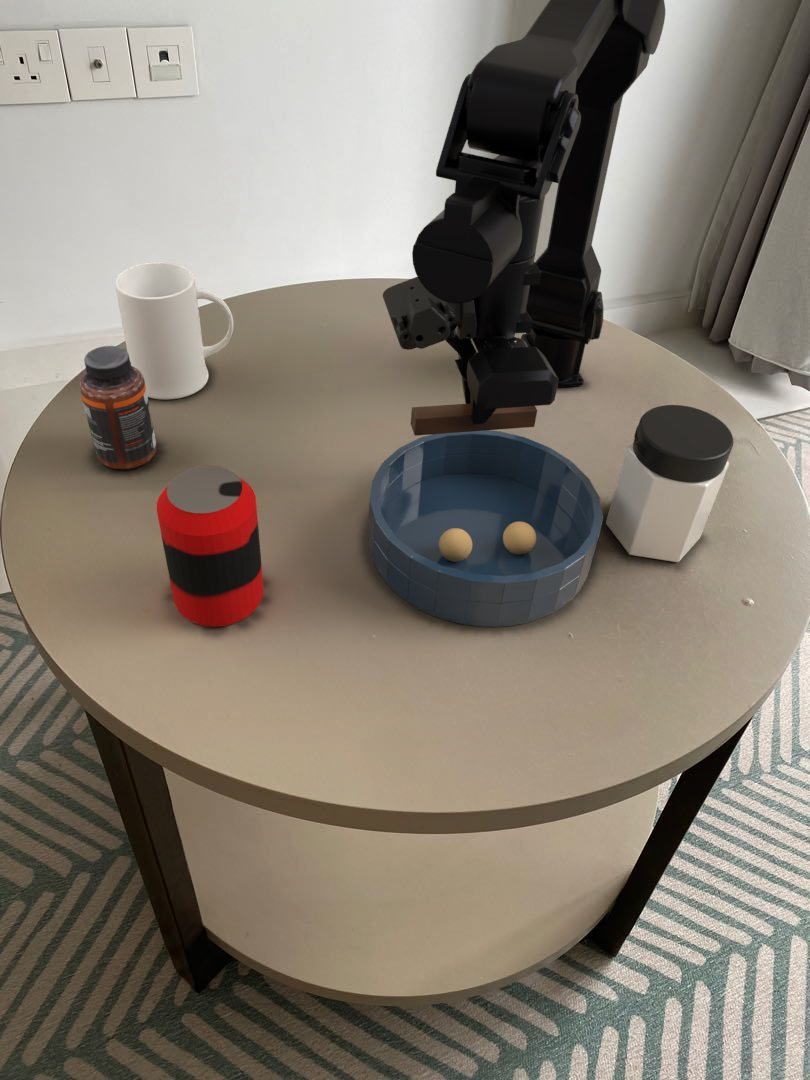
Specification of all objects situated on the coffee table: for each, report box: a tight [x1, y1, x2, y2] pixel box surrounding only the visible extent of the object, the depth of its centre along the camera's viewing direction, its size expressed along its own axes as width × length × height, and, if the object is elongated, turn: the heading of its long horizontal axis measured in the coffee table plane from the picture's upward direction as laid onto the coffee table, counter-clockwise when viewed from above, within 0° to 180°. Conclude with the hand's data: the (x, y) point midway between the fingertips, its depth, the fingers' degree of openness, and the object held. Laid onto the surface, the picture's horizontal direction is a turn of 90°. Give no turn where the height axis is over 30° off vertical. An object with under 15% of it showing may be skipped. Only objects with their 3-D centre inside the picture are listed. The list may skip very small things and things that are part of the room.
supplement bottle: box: [79, 345, 158, 470], centre depth 84 cm, size 6×6×11 cm
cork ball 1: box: [439, 528, 472, 562], centre depth 78 cm, size 3×3×3 cm
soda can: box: [155, 465, 265, 628], centre depth 70 cm, size 8×8×12 cm
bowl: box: [367, 430, 604, 628], centre depth 79 cm, size 21×21×6 cm
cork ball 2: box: [503, 522, 536, 555], centre depth 79 cm, size 3×3×3 cm
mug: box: [114, 261, 235, 401], centre depth 94 cm, size 12×8×12 cm
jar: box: [605, 404, 734, 563], centre depth 79 cm, size 9×8×12 cm
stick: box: [410, 403, 538, 437], centre depth 77 cm, size 11×2×2 cm, turn 101°
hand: (475, 416), depth 77 cm, fingers closed on stick, 2 cm apart
